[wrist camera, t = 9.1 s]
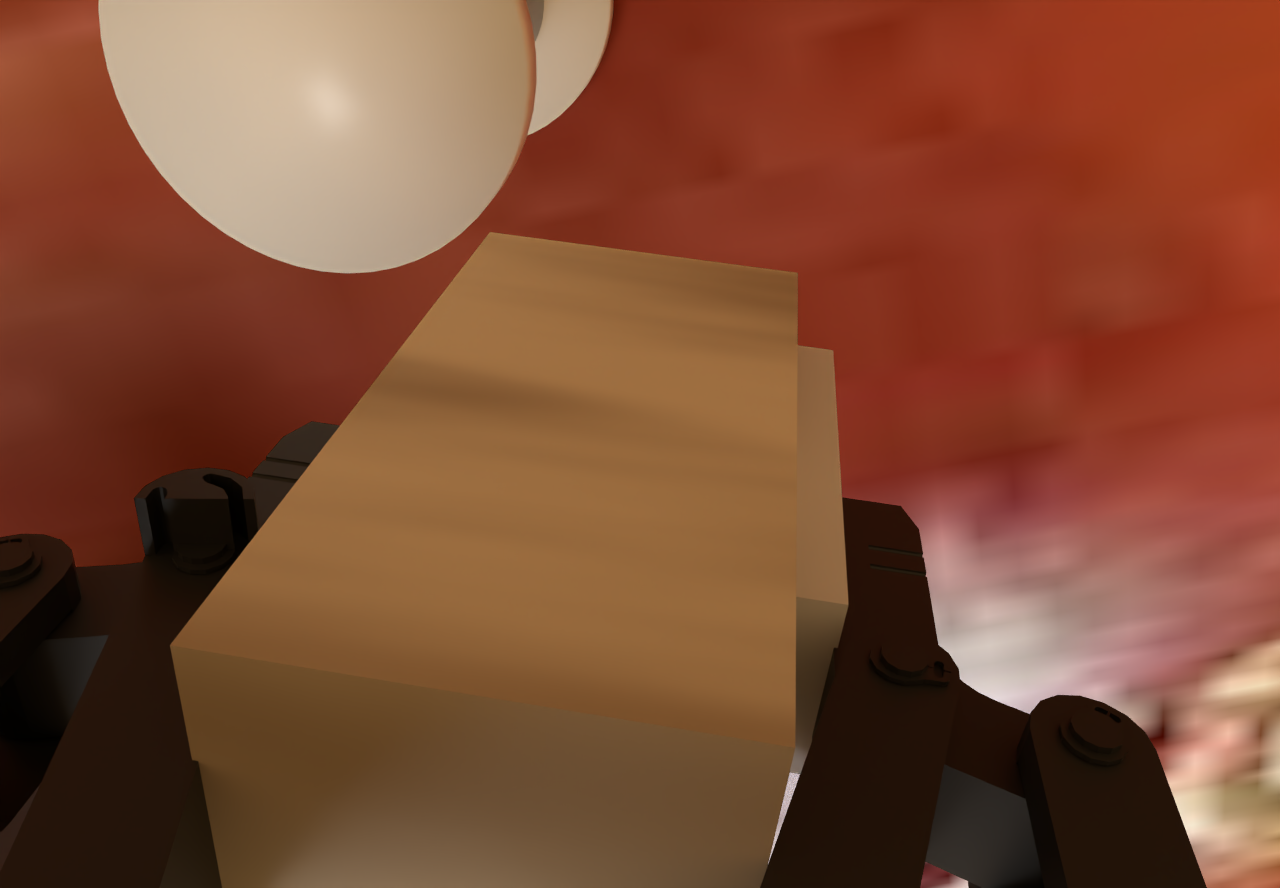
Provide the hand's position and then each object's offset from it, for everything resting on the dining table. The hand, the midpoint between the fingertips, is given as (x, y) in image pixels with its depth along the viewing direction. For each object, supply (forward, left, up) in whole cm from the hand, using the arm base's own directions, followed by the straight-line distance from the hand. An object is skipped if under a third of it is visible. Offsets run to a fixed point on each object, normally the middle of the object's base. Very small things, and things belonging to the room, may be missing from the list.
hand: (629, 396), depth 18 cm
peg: (0, 0, 0) cm, 0 cm away
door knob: (+4, +7, -15) cm, 17 cm away
